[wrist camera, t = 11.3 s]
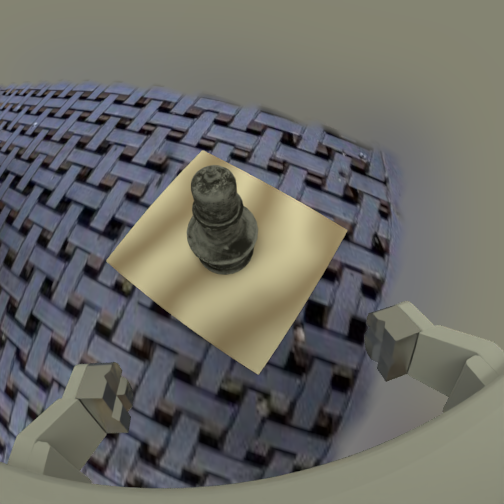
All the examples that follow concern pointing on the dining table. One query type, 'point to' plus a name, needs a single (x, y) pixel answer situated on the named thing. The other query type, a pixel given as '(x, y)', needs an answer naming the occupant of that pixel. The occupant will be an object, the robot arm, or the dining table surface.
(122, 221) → the dining table surface
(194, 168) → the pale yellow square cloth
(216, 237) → the weathered chess pawn
